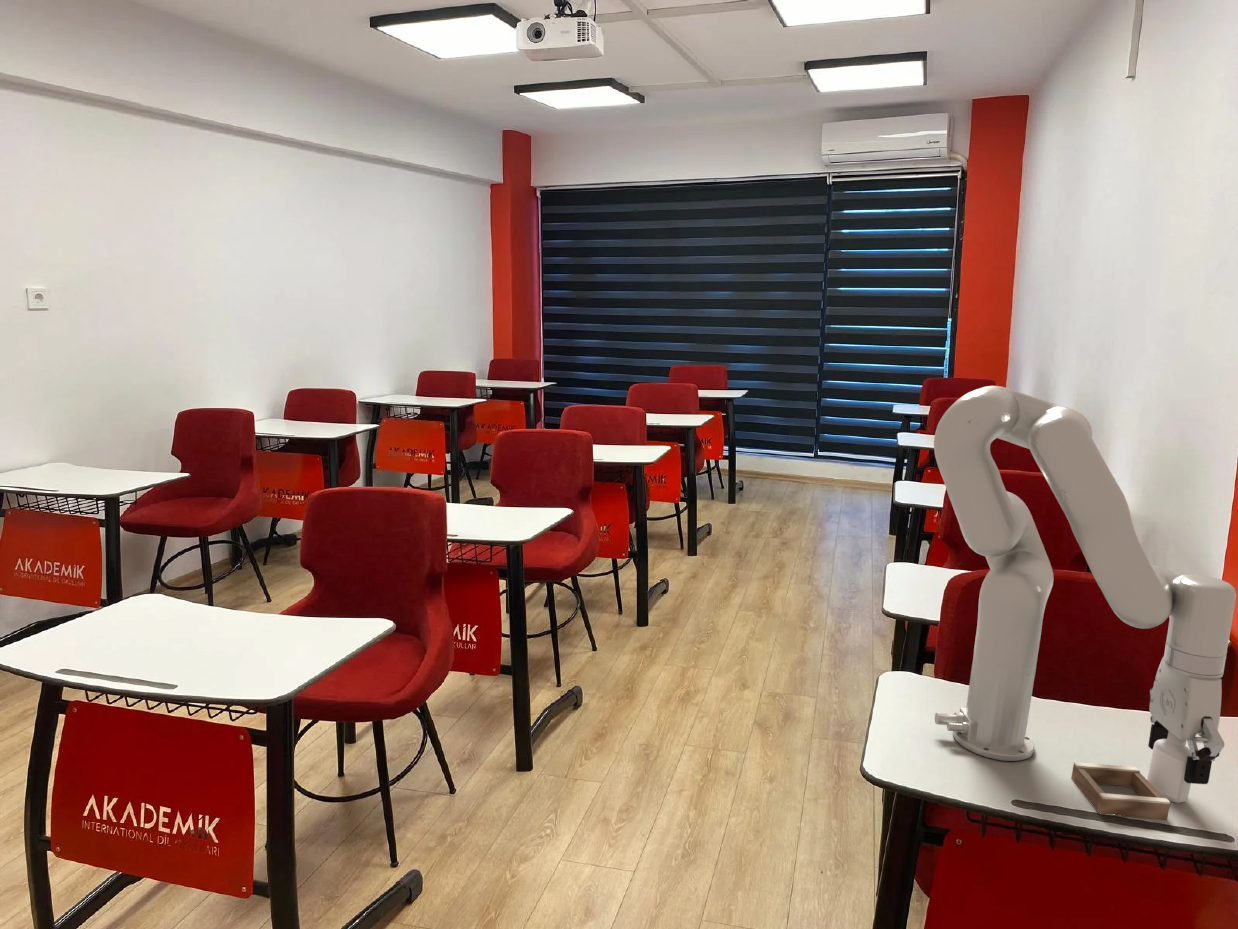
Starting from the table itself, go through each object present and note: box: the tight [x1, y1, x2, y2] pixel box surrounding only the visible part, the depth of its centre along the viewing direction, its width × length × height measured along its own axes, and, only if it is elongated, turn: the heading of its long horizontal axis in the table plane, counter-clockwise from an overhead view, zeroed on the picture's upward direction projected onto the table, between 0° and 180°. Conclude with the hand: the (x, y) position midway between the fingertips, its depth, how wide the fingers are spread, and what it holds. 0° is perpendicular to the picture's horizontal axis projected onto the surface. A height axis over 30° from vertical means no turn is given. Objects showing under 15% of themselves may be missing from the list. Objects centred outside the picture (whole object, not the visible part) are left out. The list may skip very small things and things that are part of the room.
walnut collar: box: [1070, 761, 1171, 821], centre depth 131 cm, size 10×10×3 cm
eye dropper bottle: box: [1146, 731, 1192, 804], centre depth 132 cm, size 4×6×12 cm
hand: (1176, 765), depth 132 cm, fingers open, 9 cm apart
